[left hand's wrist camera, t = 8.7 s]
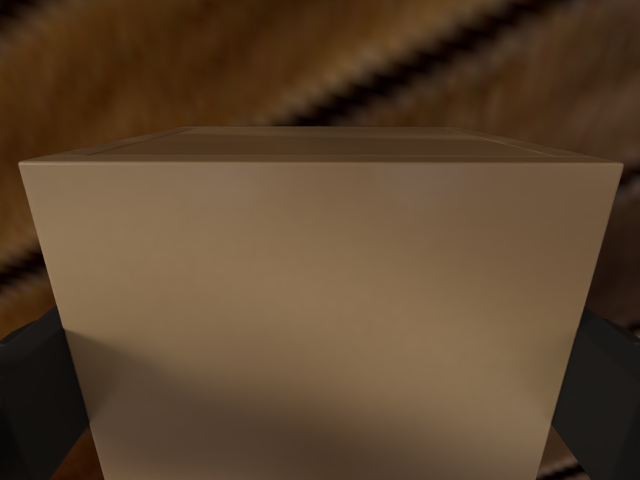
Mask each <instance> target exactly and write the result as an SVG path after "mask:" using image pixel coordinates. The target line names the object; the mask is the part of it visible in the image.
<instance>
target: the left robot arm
mask: <svg viewBox="0 0 640 480" xmlns="http://www.w3.org/2000/svg"><path fill="white" fill-rule="evenodd" d="M551 424H552V425H553V427H554V428H555V430H556V431H557V432H558V434H559V435H560V437H561V438H562V439H563V441H564V442H565V444H566V445H567V446H568V448H569V449H570V451H571V452H572V453H573V455H574V456H575V458H576V459H577V460H578V462H579V463H580V465H581V466H582V468H583V469H584V470H585V472H586V473H587V475H588V476H589V477H590V479H591V480H640V338H638V337H637V336H636V335H634V334H633V333H632V332H630V331H629V330H627V329H625V328H623V327H621V326H619V325H617V324H615V323H613V322H611V321H609V320H607V319H601V318H600V317H599V316H597V315H596V314H595V313H594V312H592V311H591V310H590V309H588V308H587V307H586V306H584V309H583V313H582V316H581V320H580V324H579V327H578V331H577V334H576V338H575V341H574V345H573V348H572V352H571V356H570V359H569V363H568V366H567V370H566V373H565V377H564V381H563V384H562V388H561V391H560V395H559V398H558V402H557V405H556V409H555V413H554V416H553V420H552V423H551ZM88 425H89V420H88V416H87V413H86V409H85V405H84V402H83V398H82V395H81V391H80V387H79V384H78V380H77V376H76V373H75V369H74V365H73V362H72V358H71V354H70V351H69V347H68V343H67V340H66V336H65V333H64V329H63V325H62V322H61V318H60V314H59V311H58V307H57V305H56V306H55V307H53V308H52V309H51V310H50V311H48V312H47V313H46V314H44V315H43V316H42V317H41V318H39V319H38V320H35V321H33V322H31V323H29V324H27V325H25V326H23V327H21V328H19V329H17V330H15V331H13V332H11V333H10V334H9V335H7V336H6V337H5V338H3V339H2V340H1V341H0V480H49V479H50V478H51V477H52V475H53V474H54V472H55V471H56V470H57V468H58V467H59V465H60V464H61V463H62V461H63V460H64V458H65V457H66V456H67V454H68V453H69V451H70V450H71V448H72V447H73V446H74V444H75V443H76V441H77V440H78V439H79V437H80V436H81V434H82V433H83V432H84V430H85V429H86V427H87V426H88Z"/></svg>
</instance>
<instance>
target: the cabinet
mask: <svg viewBox="0 0 640 480" xmlns="http://www.w3.org/2000/svg"><path fill="white" fill-rule="evenodd" d="M623 167H624V165H623V163H621V162H617V161H612V160H607V159H603V158H598V157H592V156H589V155H584V154H580V153H575V152H571V151H566V150H561V149H557V148H552V147H548V146H543V145H538V144H534V143H529V142H525V141H520V140H515V139H511V138H506V137H502V136H497V135H492V134H488V133H483V132H479V131H474V130H469V129H465V128H460V127H289V126H183V127H178V128H174V129H170V130H165V131H160V132H156V133H151V134H146V135H142V136H137V137H132V138H128V139H123V140H118V141H113V142H109V143H104V144H99V145H95V146H90V147H85V148H81V149H76V150H71V151H67V152H62V153H57V154H53V155H51V156H42V157H38V158H33V159H28V160H24V161H21V162H19V169H20V172H21V176H22V179H23V183H24V187H25V190H26V194H27V198H28V201H29V205H30V209H31V212H32V216H33V220H34V223H35V227H36V231H37V234H38V238H39V241H40V245H41V249H42V252H43V256H44V260H45V263H46V267H47V271H48V274H49V278H50V282H51V285H52V289H53V292H54V296H55V300H56V303H57V307H58V311H59V314H60V318H61V322H62V325H63V329H64V333H65V336H66V340H67V343H68V347H69V351H70V354H71V358H72V362H73V365H74V369H75V373H76V376H77V380H78V384H79V387H80V391H81V395H82V398H83V402H84V405H85V409H86V413H87V416H88V420H89V424H90V427H91V431H92V435H93V438H94V442H95V446H96V449H97V453H98V456H99V460H100V464H101V467H102V471H103V475H104V478H105V480H536V477H537V473H538V470H539V466H540V462H541V459H542V455H543V452H544V448H545V445H546V441H547V437H548V434H549V430H550V427H551V423H552V420H553V416H554V413H555V409H556V405H557V402H558V398H559V395H560V391H561V388H562V384H563V381H564V377H565V373H566V370H567V366H568V363H569V359H570V356H571V352H572V348H573V345H574V341H575V338H576V334H577V331H578V327H579V324H580V320H581V316H582V313H583V309H584V306H585V302H586V299H587V295H588V291H589V288H590V284H591V281H592V277H593V274H594V270H595V267H596V263H597V259H598V256H599V252H600V249H601V245H602V242H603V238H604V234H605V231H606V227H607V224H608V220H609V217H610V213H611V210H612V206H613V202H614V199H615V195H616V192H617V188H618V185H619V181H620V178H621V174H622V170H623Z"/></svg>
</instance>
